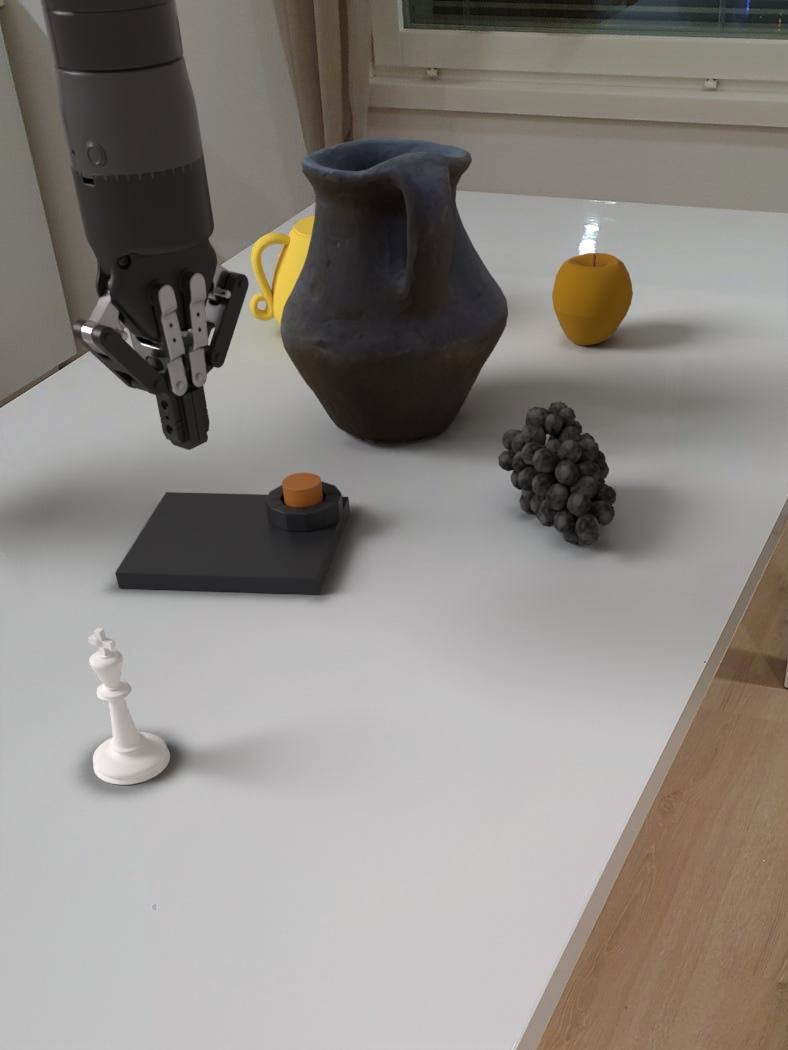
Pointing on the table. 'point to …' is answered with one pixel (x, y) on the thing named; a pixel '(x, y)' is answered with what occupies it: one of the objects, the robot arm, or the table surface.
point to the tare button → (302, 490)
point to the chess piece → (122, 724)
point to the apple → (591, 297)
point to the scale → (236, 543)
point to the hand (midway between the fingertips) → (188, 443)
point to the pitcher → (391, 291)
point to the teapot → (280, 268)
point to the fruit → (560, 473)
